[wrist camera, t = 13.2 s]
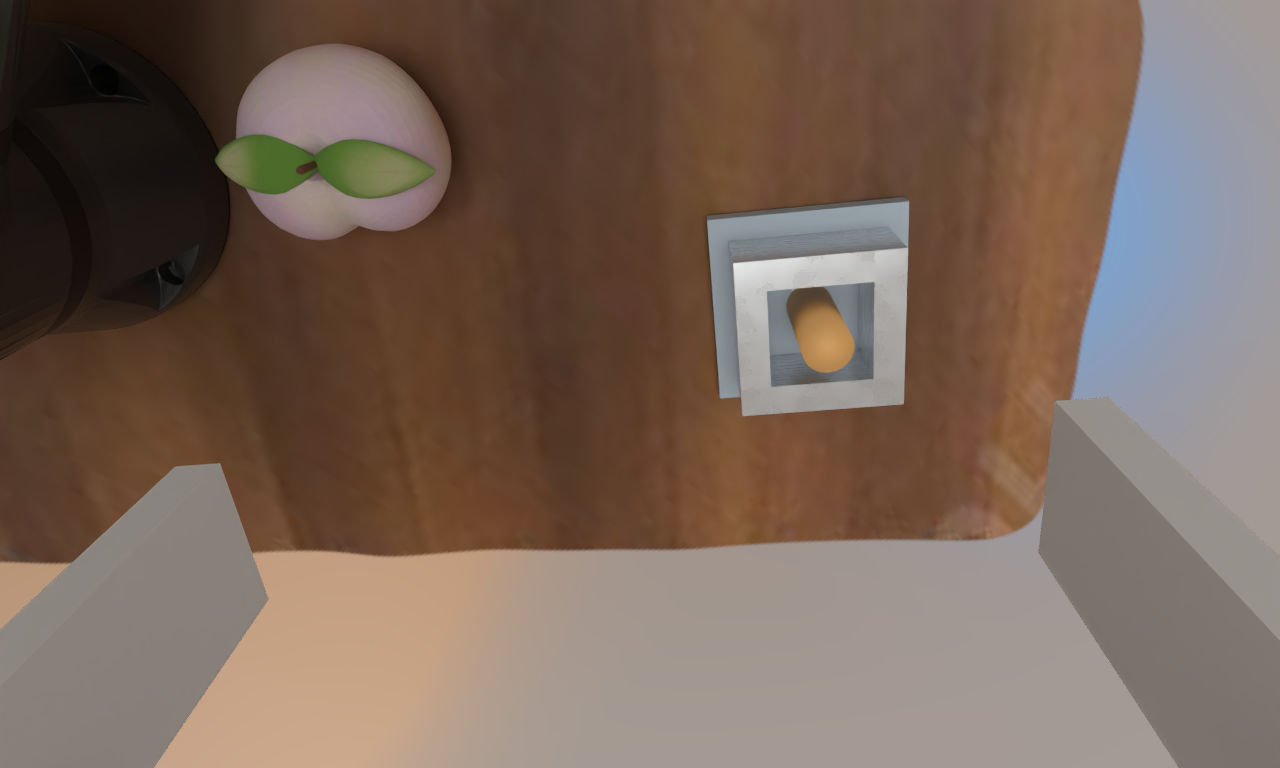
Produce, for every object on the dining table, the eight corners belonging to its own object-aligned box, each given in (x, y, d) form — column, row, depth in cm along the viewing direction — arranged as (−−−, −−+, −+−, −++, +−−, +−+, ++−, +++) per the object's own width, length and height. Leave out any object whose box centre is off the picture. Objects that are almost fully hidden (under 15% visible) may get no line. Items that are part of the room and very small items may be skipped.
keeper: (719, 390, 47) (726, 451, 41) (706, 215, 43) (711, 252, 37) (899, 376, 47) (935, 436, 40) (904, 196, 43) (944, 231, 36)
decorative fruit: (450, 25, 40) (384, 33, 31) (487, 196, 43) (436, 248, 34) (263, 54, 41) (145, 69, 32) (313, 219, 44) (219, 276, 35)
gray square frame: (737, 383, 46) (742, 416, 42) (728, 240, 43) (733, 263, 39) (885, 371, 45) (903, 404, 42) (888, 226, 42) (908, 247, 39)
